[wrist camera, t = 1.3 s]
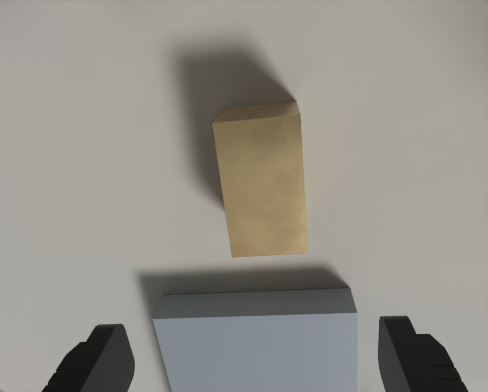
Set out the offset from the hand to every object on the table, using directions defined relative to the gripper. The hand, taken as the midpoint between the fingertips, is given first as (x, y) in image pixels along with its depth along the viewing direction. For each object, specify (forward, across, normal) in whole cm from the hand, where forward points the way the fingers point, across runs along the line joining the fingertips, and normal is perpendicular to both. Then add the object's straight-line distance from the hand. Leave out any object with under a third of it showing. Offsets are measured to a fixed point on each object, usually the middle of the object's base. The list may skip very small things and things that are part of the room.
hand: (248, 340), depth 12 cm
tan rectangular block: (+17, 0, 0) cm, 17 cm away
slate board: (+17, +2, +19) cm, 25 cm away
